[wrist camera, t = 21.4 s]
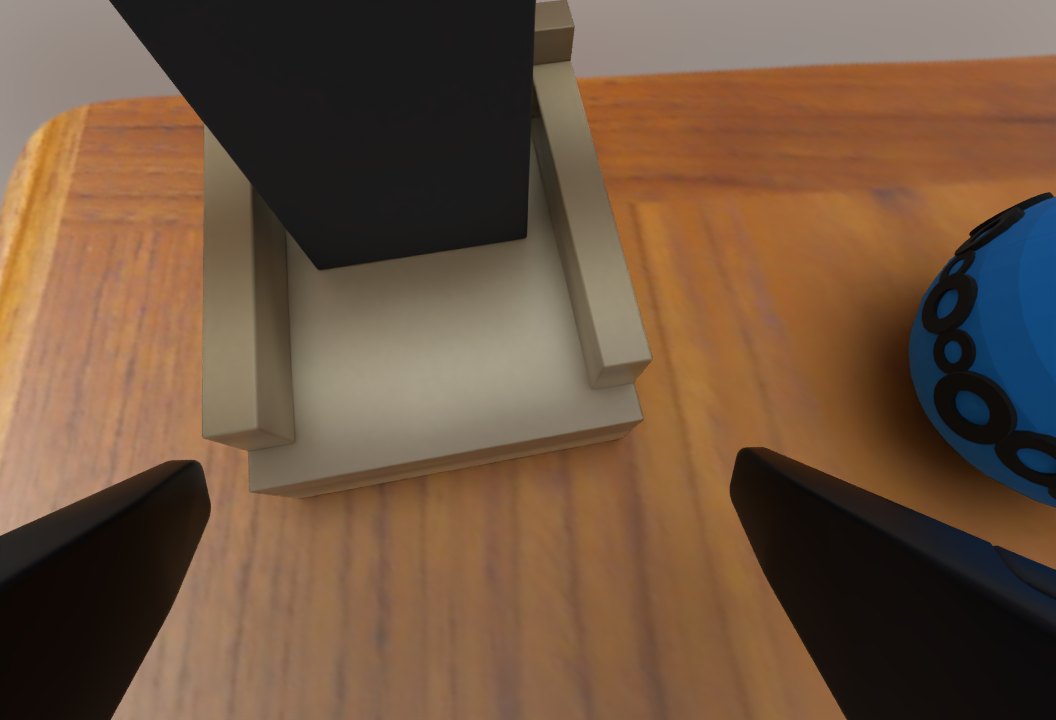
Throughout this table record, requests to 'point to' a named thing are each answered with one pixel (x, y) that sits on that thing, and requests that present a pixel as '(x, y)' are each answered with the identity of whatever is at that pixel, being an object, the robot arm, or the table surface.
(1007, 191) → the table surface
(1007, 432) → the ornament
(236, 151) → the black rectangular block
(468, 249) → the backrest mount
